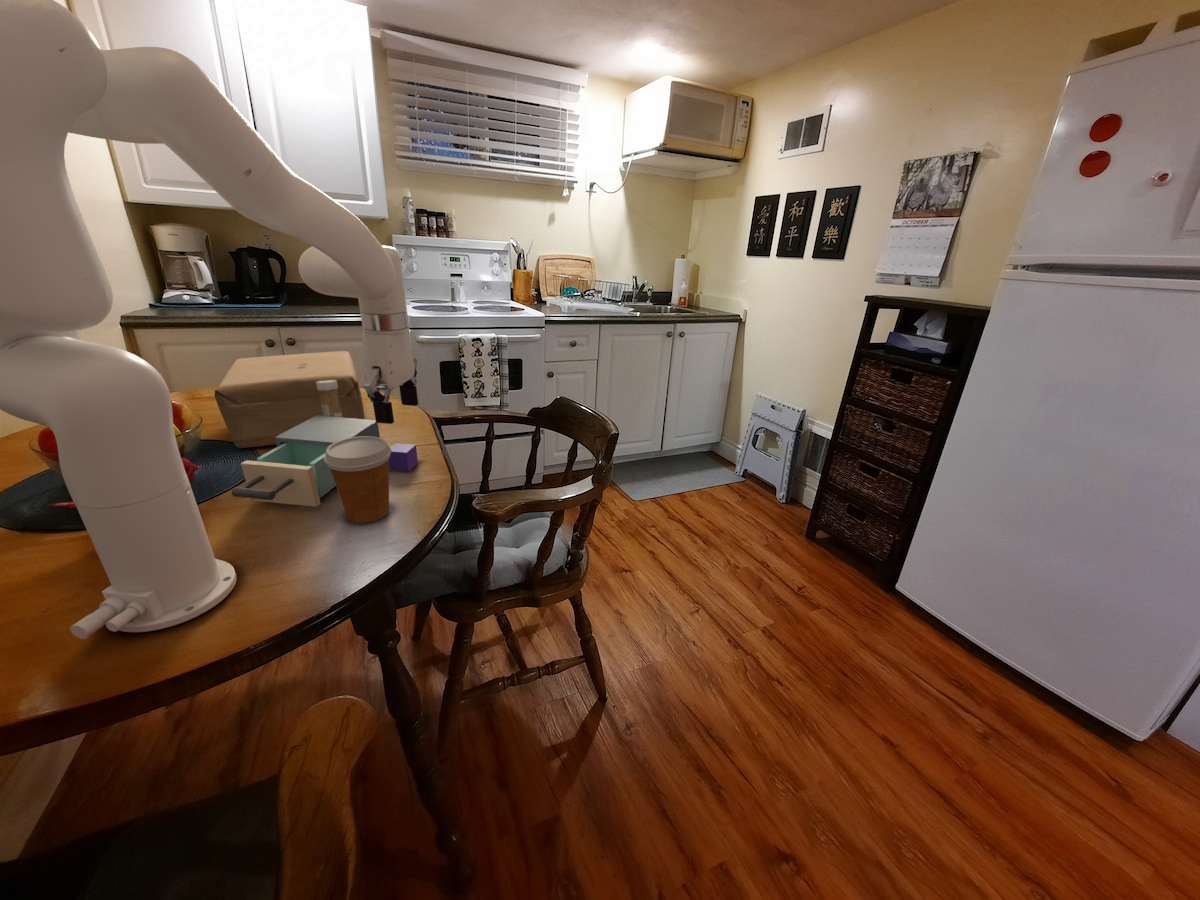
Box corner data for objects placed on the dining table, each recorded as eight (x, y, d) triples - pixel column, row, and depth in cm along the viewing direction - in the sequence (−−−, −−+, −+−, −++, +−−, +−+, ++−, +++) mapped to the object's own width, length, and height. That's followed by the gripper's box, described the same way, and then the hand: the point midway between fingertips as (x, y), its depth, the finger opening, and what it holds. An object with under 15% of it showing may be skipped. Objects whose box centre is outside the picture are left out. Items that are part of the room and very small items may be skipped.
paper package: (245, 412, 119) (230, 355, 114) (361, 400, 130) (353, 348, 125) (227, 454, 98) (207, 386, 92) (368, 436, 109) (358, 375, 103)
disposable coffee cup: (337, 503, 83) (324, 438, 78) (398, 495, 87) (389, 432, 82) (334, 533, 75) (319, 463, 70) (400, 522, 79) (391, 455, 74)
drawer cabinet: (350, 487, 88) (342, 443, 85) (285, 480, 89) (274, 437, 86) (383, 460, 99) (377, 420, 95) (324, 454, 100) (316, 415, 96)
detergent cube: (408, 471, 95) (406, 452, 93) (389, 469, 95) (386, 451, 94) (418, 462, 99) (416, 444, 97) (399, 461, 99) (396, 442, 97)
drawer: (292, 525, 75) (282, 486, 72) (223, 518, 76) (210, 479, 73) (352, 477, 90) (346, 443, 87) (293, 472, 91) (285, 438, 88)
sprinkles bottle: (350, 440, 107) (340, 380, 102) (327, 443, 105) (315, 382, 99) (347, 433, 110) (336, 375, 105) (324, 436, 108) (312, 377, 103)
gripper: (389, 312, 94) (401, 397, 101) (335, 329, 78) (353, 429, 85) (427, 315, 93) (436, 400, 100) (380, 332, 77) (394, 432, 85)
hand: (398, 413), depth 93 cm, fingers open, 9 cm apart
